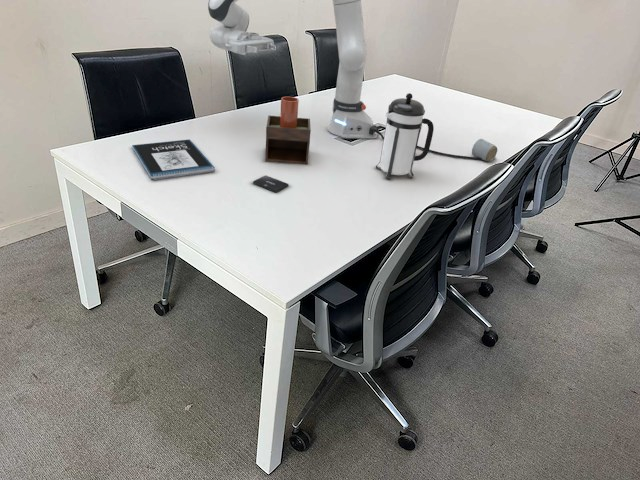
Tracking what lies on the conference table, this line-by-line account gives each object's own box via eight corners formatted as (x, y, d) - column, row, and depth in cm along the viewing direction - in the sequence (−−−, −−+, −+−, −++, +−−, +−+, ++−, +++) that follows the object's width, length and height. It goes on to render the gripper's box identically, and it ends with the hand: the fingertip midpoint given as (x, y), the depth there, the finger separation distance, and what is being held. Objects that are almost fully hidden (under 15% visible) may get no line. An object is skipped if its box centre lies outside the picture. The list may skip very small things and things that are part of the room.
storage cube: (307, 151, 186) (309, 118, 178) (307, 164, 175) (310, 130, 167) (267, 148, 184) (268, 115, 177) (265, 161, 173) (266, 126, 166)
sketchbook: (189, 142, 182) (189, 137, 181) (215, 173, 161) (215, 167, 160) (132, 148, 172) (131, 142, 171) (152, 181, 151) (151, 175, 150)
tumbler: (292, 127, 178) (294, 96, 171) (298, 133, 173) (301, 101, 166) (277, 128, 175) (278, 96, 169) (283, 134, 170) (284, 101, 164)
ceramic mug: (485, 163, 193) (491, 146, 188) (469, 156, 198) (474, 139, 194) (499, 159, 199) (505, 142, 195) (483, 152, 204) (488, 136, 200)
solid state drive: (276, 192, 152) (276, 190, 152) (252, 183, 157) (252, 181, 156) (288, 185, 158) (288, 183, 157) (265, 176, 162) (265, 175, 161)
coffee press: (407, 186, 167) (425, 103, 150) (367, 173, 173) (381, 92, 157) (424, 171, 179) (442, 93, 163) (387, 160, 186) (401, 84, 170)
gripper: (221, 36, 178) (247, 42, 171) (259, 32, 192) (284, 38, 185) (222, 53, 181) (247, 60, 174) (258, 48, 195) (283, 55, 189)
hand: (266, 49), depth 180 cm, fingers open, 8 cm apart
